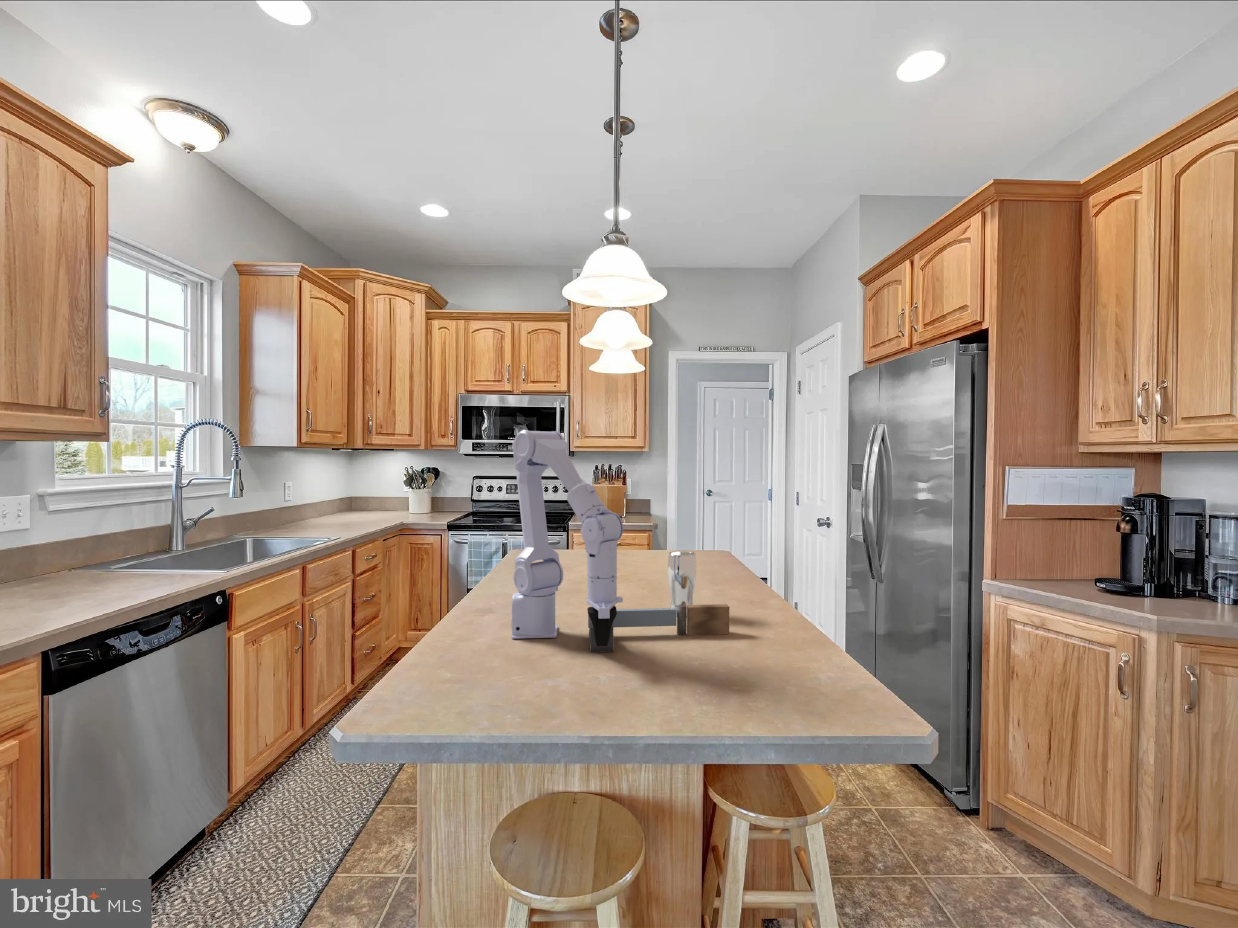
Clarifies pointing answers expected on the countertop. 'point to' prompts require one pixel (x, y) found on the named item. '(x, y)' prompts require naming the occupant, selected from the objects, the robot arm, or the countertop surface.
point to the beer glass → (681, 577)
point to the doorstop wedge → (600, 648)
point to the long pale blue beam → (643, 617)
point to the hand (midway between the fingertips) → (601, 645)
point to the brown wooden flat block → (703, 619)
